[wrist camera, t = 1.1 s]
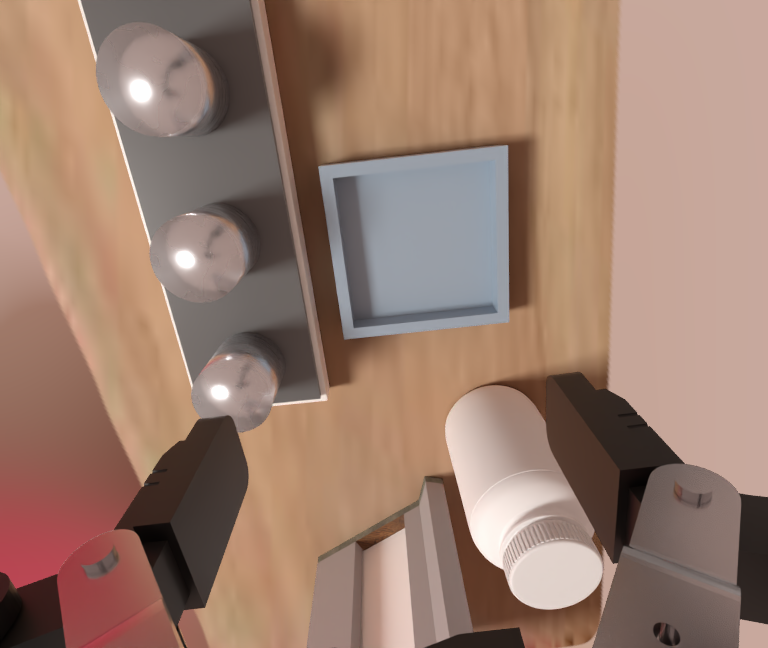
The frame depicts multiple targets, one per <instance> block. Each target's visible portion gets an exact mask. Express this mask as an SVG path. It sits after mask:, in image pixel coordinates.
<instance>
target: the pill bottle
mask: <svg viewBox="0 0 768 648" xmlns="http://www.w3.org/2000/svg"><path fill="white" fill-rule="evenodd" d="M445 434H446V442H447V446H448V449H449V453H450V457H451V461H452V465H453V469H454V472H455V476H456V480H457V484H458V488H459V491H460V495H461V499H462V503H463V507H464V511H465V514H466V518H467V522H468V526H469V530H470V533H471V536H472V539H473V541H474V543H475V545H476V546H477V548H478V549H479V551H480V552H481V553H482V554H483V556H484V557H485V558H486V559H487V560H489V561H490V562H491V563H492V564H494V565H495V566H497V567H499V568H501V569H503V570H504V572H505V575H506V578H507V581H508V584H509V587H510V589H511V591H512V593H513V594H514V595H515V597H516V598H518V599H519V600H520V601H521V602H523V603H524V604H526V605H528V606H531V607H534V608H538V609H560V608H564V607H568V606H571V605H574V604H576V603H578V602H580V601H582V600H583V599H585V598H586V597H588V596H589V595H590V594H591V593H592V592H593V591H594V590H595V589H596V588H597V586H598V585H599V583H600V581H601V578H602V575H603V568H604V566H603V560H602V557H601V555H600V553H599V551H598V549H597V548H596V546H595V544H594V542H593V541H592V537H593V534H594V531H595V530H594V528H593V526H592V525H591V523H590V521H589V519H588V517H587V516H586V514H585V512H584V510H583V508H582V507H581V505H580V503H579V501H578V499H577V497H576V496H575V494H574V492H573V490H572V488H571V487H570V485H569V483H568V481H567V479H566V478H565V476H564V474H563V472H562V470H561V468H560V467H559V465H558V463H557V461H556V459H555V458H554V456H553V454H552V452H551V449H550V446H549V443H548V439H547V432H546V422H545V420H544V419H543V417H542V416H541V414H540V413H539V411H538V409H537V408H536V406H535V405H534V404H533V403H532V401H531V400H530V399H529V398H528V397H527V396H526V395H524V394H523V393H521V392H520V391H518V390H516V389H513V388H510V387H507V386H500V385H491V386H484V387H480V388H477V389H475V390H472V391H470V392H469V393H467V394H465V395H464V396H463V397H461V398H460V399H459V400H458V401H457V402H456V403H455V405H454V406H453V407H452V409H451V411H450V412H449V415H448V417H447V420H446V426H445Z"/></svg>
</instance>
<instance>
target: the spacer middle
mask: <svg viewBox="0 0 768 648" xmlns="http://www.w3.org/2000/svg"><path fill="white" fill-rule="evenodd" d="M259 253H260V238H259V234H258V231H257V229H256V227H255V225H254V224H253V222H252V221H251V219H250V218H249V217H248V216H247V215H246V214H244V213H243V212H242V211H240V210H239V209H237V208H235V207H233V206H230V205H227V204H220V203H214V204H208V205H205V206H202V207H200V208H197V209H195V210H192V211H190V212H187V213H185V214H182V215H180V216H177V217H175V218H172V219H170V220H168V221H167V222H165V223H164V224H163V225H161V226H160V227H159V228H158V230H157V231H156V232H155V234H154V236H153V238H152V241H151V245H150V261H151V265H152V268H153V271H154V273H155V275H156V277H157V278H158V280H159V281H160V282H161V283H162V285H163V286H164V287H165V288H166V289H167V290H169V291H170V292H171V293H173V294H174V295H176V296H177V297H180V298H182V299H184V300H187V301H191V302H198V303H206V302H212V301H215V300H218V299H220V298H222V297H224V296H225V295H227V294H228V293H229V292H230V291H231V290H232V289H233V288H234V287H235V286H236V284H237V283H238V282H239V281H240V280H241V279H242V278H243V277H244V276H245V275H246V274H247V273H248V272H249V270H250V269H251V268H252V267H253V266H254V265H255V263H256V261H257V259H258V257H259Z"/></svg>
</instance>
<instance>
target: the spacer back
mask: <svg viewBox="0 0 768 648" xmlns="http://www.w3.org/2000/svg"><path fill="white" fill-rule="evenodd" d="M284 371H285V360H284V356H283V354H282V352H281V350H280V349H279V347H278V346H277V345H276V344H275V343H274V342H273V341H272V340H270V339H269V338H267V337H265V336H263V335H261V334H257V333H252V332H243V333H238V334H234V335H232V336H230V337H229V338H227V339H226V340H225V341H224V342H223V343H222V344H221V345H220V347H219V348H218V349H217V351H216V352H215V353H214V355H213V356H212V358H211V359H210V360H209V362H208V363H207V364H206V366H205V367H204V369H203V370H202V371H201V373H200V374H199V376H198V377H197V378H196V380H195V382H194V384H193V387H192V393H191V397H192V403H193V406H194V408H195V410H196V412H197V413H198V415H199V416H200V417H201V418H202V419H203V418H211V417H219V416H227V415H229V416H231V417H232V419H233V420H234V423H235V426H236V429H237V433H238V432H246V431H249V430H252V429H254V428H256V427H258V426H259V425H260V424H262V423H263V422H264V421H265V419H266V418H267V417H268V415H269V413H270V410H271V407H272V405H273V402H274V399H275V396H276V394H277V391H278V388H279V386H280V383H281V380H282V378H283V375H284Z"/></svg>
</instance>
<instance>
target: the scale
mask: <svg viewBox="0 0 768 648" xmlns="http://www.w3.org/2000/svg"><path fill="white" fill-rule="evenodd" d="M78 3H79V6H80V10H81V13H82V16H83V20H84V23H85V27H86V30H87V33H88V37H89V40H90V44H91V47H92V50H93V54H94V57H95V61H97V56H98V52H99V49H100V47H101V45H102V43H103V41H104V40H105V38H106V37H107V36H108V35H109V34H110V33H111V32H112V31H113V30H115V29H116V28H118V27H120V26H122V25H125V24H128V23H133V22H144V23H150V24H154V25H157V26H159V27H162V28H163V29H165V30H167V31H169V32H171V33H173V34H175V35H177V36H179V37H181V38H183V39H184V40H186V41H188V42H190V43H192V44H194V45H196V46H198V47H200V48H201V49H203V50H205V51H206V52H207V53H209V54H210V55H211V56H212V57H213V58H214V59H215V60H216V61H217V63H218V64H219V65H220V67H221V68H222V70H223V72H224V74H225V77H226V79H227V83H228V87H229V98H230V99H229V107H228V111H227V113H226V116H225V118H224V120H223V121H222V122H221V124H220V125H219V126H218V127H217V128H216V129H215V130H213V131H212V132H210V133H208V134H206V135H203V136H198V137H156V136H148V135H144V134H141V133H138V132H136V131H134V130H132V129H130V128H129V127H127V126H126V125H124V124H123V123H122V122H121V121H119V120H118V119H117V118H116V117H115V116H114V114H113V113H112V112H111V111H110V112H111V115H112V118H113V122H114V125H115V129H116V132H117V135H118V139H119V142H120V146H121V149H122V153H123V156H124V159H125V163H126V166H127V170H128V173H129V176H130V180H131V183H132V187H133V190H134V193H135V197H136V200H137V204H138V207H139V210H140V214H141V217H142V221H143V224H144V227H145V231H146V234H147V238H148V241H149V244H150V245H151V241H152V238H153V236H154V234H155V232H156V231H157V230H158V228H159V227H160V226H161V225H163V224H164V223H165V222H167V221H168V220H170V219H172V218H175V217H177V216H180V215H182V214H185V213H187V212H190V211H192V210H195V209H197V208H200V207H202V206H205V205H208V204H214V203H220V204H227V205H230V206H233V207H235V208H237V209H239V210H240V211H242V212H243V213H244V214H246V215H247V216H248V217H249V218H250V219H251V221H252V222H253V224H254V225H255V227H256V229H257V231H258V234H259V238H260V253H259V257H258V259H257V261H256V263H255V265H254V266H253V267H252V268H251V269H250V270H249V272H248V273H247V274H246V275H245V276H244V277H243V278H242V279H241V280H240V281H239V282H238V283H237V284H236V286H235V287H234V288H233V289H232V290H231V291H230V292H229V293H228V294H227V295H225V296H224V297H222V298H220V299H218V300H215V301H212V302H206V303H198V302H191V301H187V300H184V299H182V298H180V297H177V296H176V295H174V294H173V293H171V292H170V291H169V290H167V289H166V288H165V287H164V286H163V285H162V283H161V285H162V289H163V292H164V295H165V299H166V302H167V306H168V309H169V312H170V316H171V319H172V323H173V326H174V329H175V333H176V336H177V340H178V343H179V346H180V350H181V353H182V357H183V360H184V363H185V367H186V370H187V374H188V377H189V381H190V384H191V387H193V384H194V382H195V380H196V378H197V377H198V376H199V374H200V373H201V371H202V370H203V369H204V367H205V366H206V364H207V363H208V362H209V360H210V359H211V358H212V356H213V355H214V353H215V352H216V351H217V349H218V348H219V347H220V345H221V344H222V343H223V342H224V341H225V340H226V339H227V338H229V337H230V336H232V335H234V334H238V333H243V332H252V333H257V334H261V335H263V336H265V337H267V338H269V339H270V340H272V341H273V342H274V343H275V344H276V345H277V346H278V347H279V349H280V350H281V352H282V354H283V356H284V360H285V371H284V375H283V378H282V380H281V383H280V386H279V388H278V391H277V394H276V396H275V399H274V402H273V405H272V406H278V405H287V404H297V403H307V402H316V401H326V400H327V399H328V394H329V388H330V387H329V381H328V375H327V369H326V364H325V358H324V352H323V346H322V340H321V334H320V328H319V322H318V316H317V310H316V304H315V299H314V293H313V287H312V281H311V275H310V269H309V263H308V257H307V251H306V245H305V239H304V233H303V228H302V222H301V216H300V210H299V204H298V198H297V192H296V186H295V180H294V174H293V168H292V163H291V157H290V151H289V145H288V139H287V133H286V127H285V121H284V115H283V109H282V103H281V98H280V92H279V86H278V80H277V74H276V68H275V62H274V56H273V50H272V44H271V38H270V32H269V27H268V21H267V15H266V9H265V3H264V0H78Z"/></svg>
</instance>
